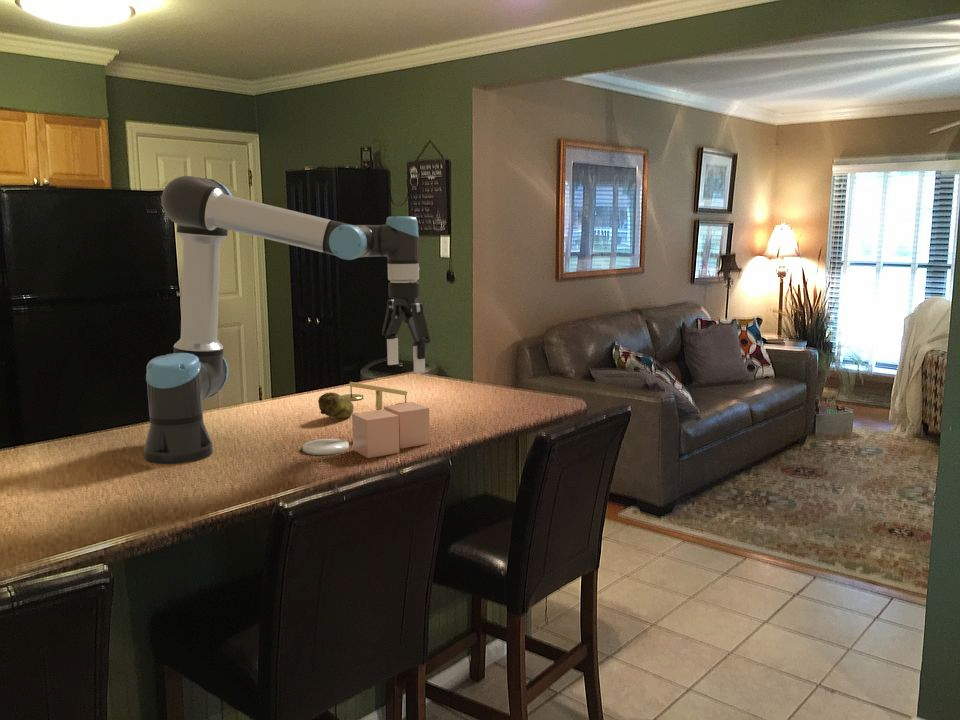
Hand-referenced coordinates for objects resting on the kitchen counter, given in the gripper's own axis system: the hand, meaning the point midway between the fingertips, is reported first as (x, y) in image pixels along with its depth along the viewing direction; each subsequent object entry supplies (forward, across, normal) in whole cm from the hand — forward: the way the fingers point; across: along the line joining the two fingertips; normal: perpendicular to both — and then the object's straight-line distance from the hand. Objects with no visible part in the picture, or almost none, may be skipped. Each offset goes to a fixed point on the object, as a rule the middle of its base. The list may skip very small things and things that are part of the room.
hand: (405, 368), depth 197 cm
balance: (+19, +11, +2) cm, 22 cm away
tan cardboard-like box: (+19, -3, +10) cm, 21 cm away
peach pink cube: (+19, 0, 0) cm, 19 cm away
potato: (+19, +33, +4) cm, 39 cm away
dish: (+19, +6, +19) cm, 27 cm away
